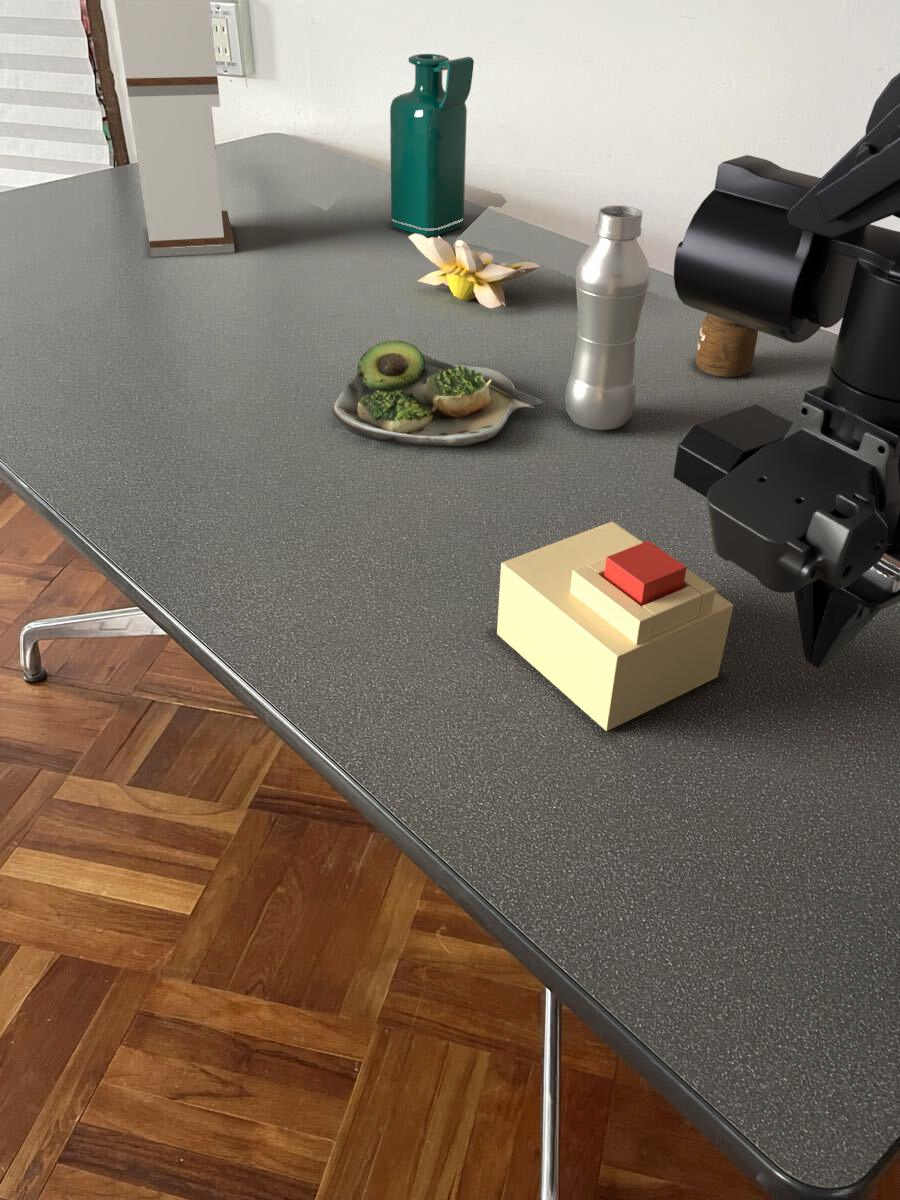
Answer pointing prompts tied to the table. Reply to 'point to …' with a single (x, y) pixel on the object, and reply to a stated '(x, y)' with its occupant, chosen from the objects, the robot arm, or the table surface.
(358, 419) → the salad plate
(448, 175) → the pitcher
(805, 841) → the table surface
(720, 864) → the table surface
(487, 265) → the decorative flower
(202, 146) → the striped white pillar
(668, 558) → the button
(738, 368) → the utensil holder
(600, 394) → the silver metal bottle
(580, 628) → the switch block
